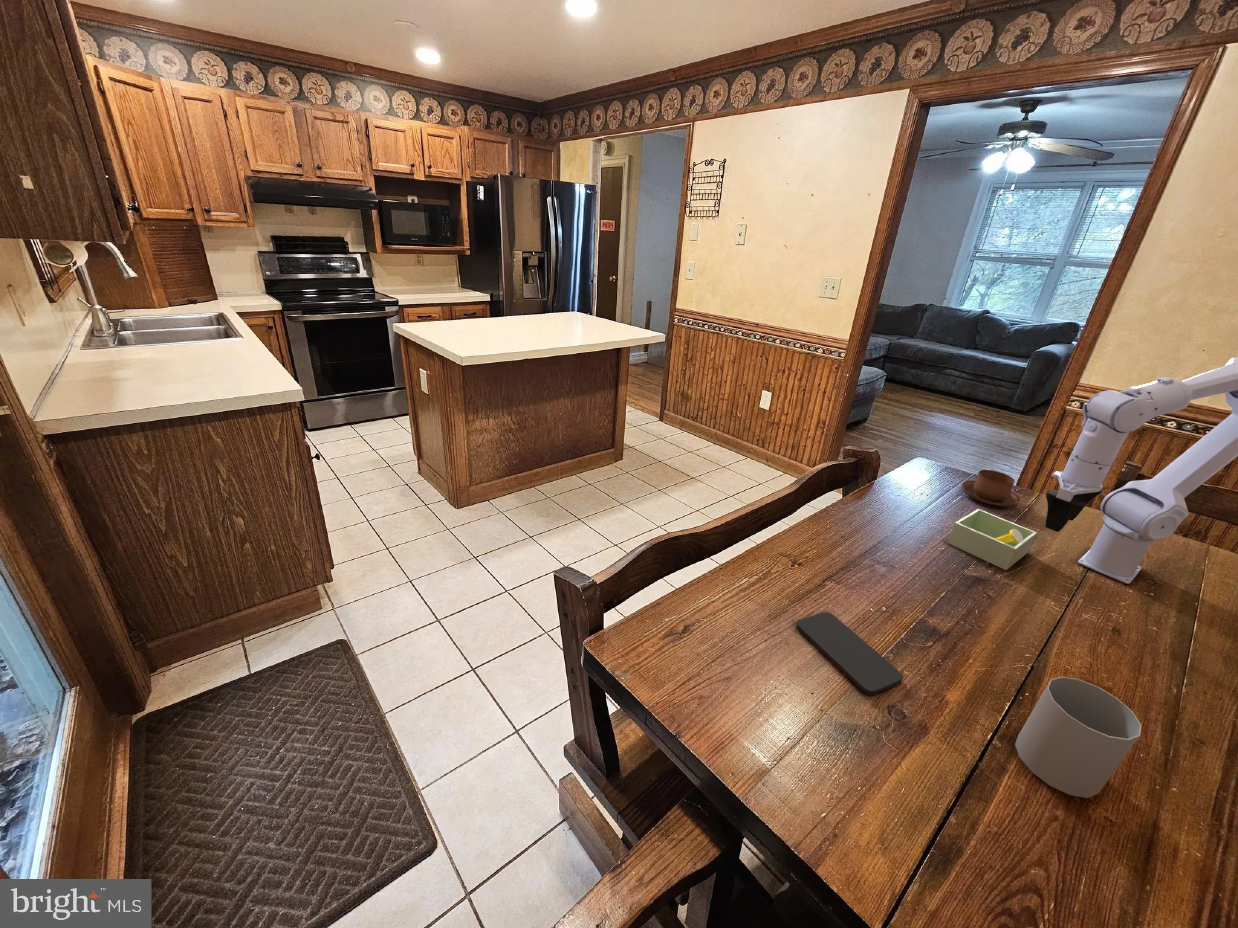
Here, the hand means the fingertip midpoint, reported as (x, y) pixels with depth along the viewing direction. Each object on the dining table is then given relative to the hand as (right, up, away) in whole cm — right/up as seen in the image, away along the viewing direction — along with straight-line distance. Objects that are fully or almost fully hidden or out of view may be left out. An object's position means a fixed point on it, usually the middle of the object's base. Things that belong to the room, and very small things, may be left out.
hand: (1059, 523), depth 97 cm
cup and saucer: (+8, +3, +30) cm, 31 cm away
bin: (-7, -6, +9) cm, 13 cm away
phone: (-49, -17, -19) cm, 55 cm away
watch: (-7, -5, +9) cm, 13 cm away
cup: (-30, -26, -34) cm, 52 cm away
